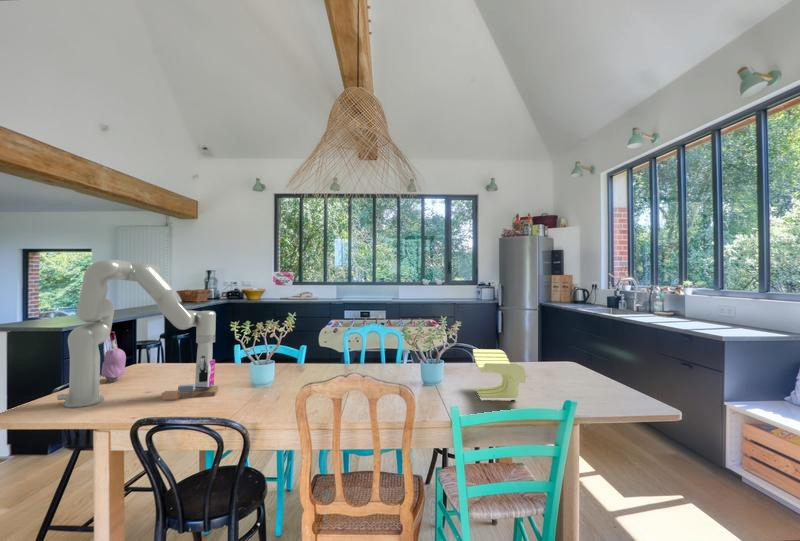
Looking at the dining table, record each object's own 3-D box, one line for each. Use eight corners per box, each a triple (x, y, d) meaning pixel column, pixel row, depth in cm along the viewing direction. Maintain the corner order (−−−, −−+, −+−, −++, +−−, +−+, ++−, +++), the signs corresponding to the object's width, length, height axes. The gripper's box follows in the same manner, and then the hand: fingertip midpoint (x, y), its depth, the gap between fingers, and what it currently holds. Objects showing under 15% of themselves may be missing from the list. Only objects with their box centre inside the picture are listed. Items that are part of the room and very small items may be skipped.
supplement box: (207, 388, 163) (208, 361, 163) (194, 388, 163) (195, 361, 163) (214, 384, 169) (215, 359, 169) (201, 384, 169) (202, 358, 169)
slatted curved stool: (525, 408, 150) (525, 363, 150) (485, 407, 150) (485, 363, 151) (506, 386, 180) (506, 349, 180) (472, 386, 180) (472, 349, 181)
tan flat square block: (191, 399, 160) (191, 393, 160) (196, 392, 169) (196, 387, 169) (214, 397, 163) (214, 391, 163) (218, 391, 171) (218, 385, 171)
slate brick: (177, 393, 167) (178, 386, 167) (179, 391, 169) (179, 385, 170) (193, 392, 168) (193, 385, 168) (194, 390, 171) (194, 383, 171)
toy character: (103, 379, 189) (104, 339, 189) (128, 376, 193) (128, 337, 193) (95, 385, 178) (96, 343, 178) (122, 382, 182) (123, 341, 182)
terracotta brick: (161, 400, 157) (161, 393, 157) (165, 398, 160) (165, 391, 160) (177, 399, 158) (177, 392, 158) (180, 397, 161) (180, 390, 161)
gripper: (200, 336, 173) (199, 375, 173) (191, 342, 157) (190, 385, 157) (218, 335, 176) (217, 373, 175) (211, 341, 159) (210, 383, 159)
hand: (204, 378), depth 166 cm, fingers closed on supplement box, 7 cm apart
